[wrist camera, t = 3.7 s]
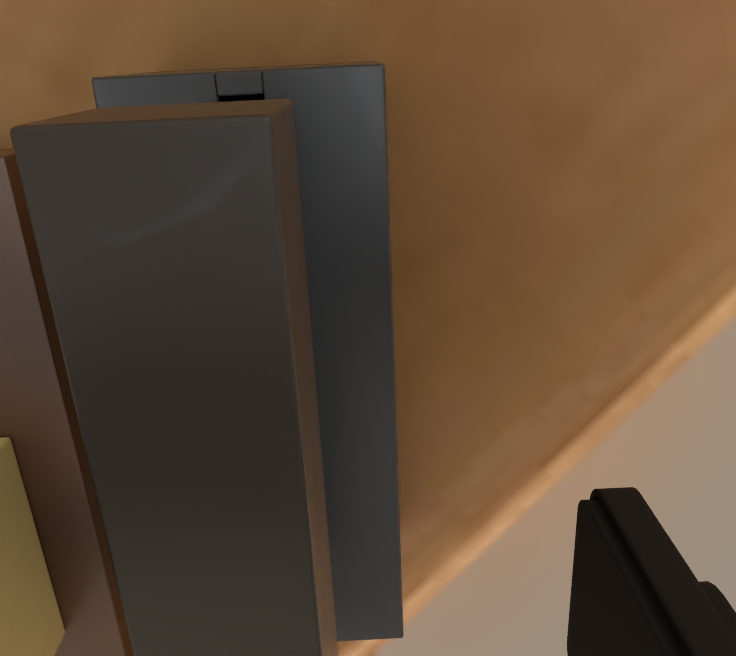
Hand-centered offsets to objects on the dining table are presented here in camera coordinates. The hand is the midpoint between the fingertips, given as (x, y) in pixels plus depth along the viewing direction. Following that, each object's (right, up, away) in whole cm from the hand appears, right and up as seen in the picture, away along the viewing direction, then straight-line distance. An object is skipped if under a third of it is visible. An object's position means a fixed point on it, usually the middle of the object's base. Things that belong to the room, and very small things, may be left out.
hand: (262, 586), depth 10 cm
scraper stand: (0, +4, +8) cm, 9 cm away
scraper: (0, +4, +8) cm, 9 cm away
